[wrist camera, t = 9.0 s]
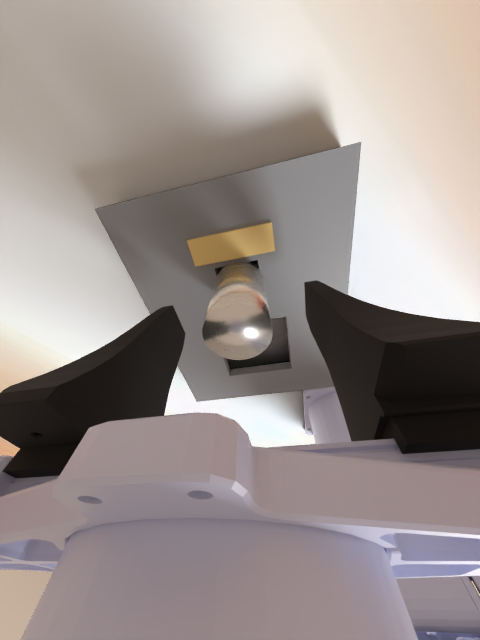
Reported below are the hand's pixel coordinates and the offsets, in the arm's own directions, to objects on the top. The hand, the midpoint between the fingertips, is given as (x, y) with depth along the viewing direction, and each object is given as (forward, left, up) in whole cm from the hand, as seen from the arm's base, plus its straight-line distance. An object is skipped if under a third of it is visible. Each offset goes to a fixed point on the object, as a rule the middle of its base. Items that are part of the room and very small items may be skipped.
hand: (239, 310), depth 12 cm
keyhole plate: (-3, 0, -6) cm, 6 cm away
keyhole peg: (0, 0, -6) cm, 6 cm away
